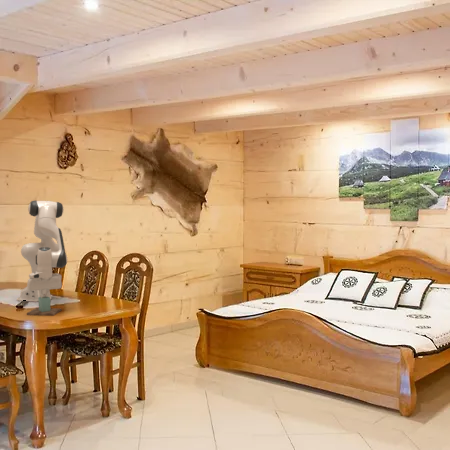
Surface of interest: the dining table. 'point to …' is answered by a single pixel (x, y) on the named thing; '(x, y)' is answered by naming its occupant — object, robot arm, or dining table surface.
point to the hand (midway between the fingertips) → (44, 297)
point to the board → (50, 313)
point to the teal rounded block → (44, 304)
